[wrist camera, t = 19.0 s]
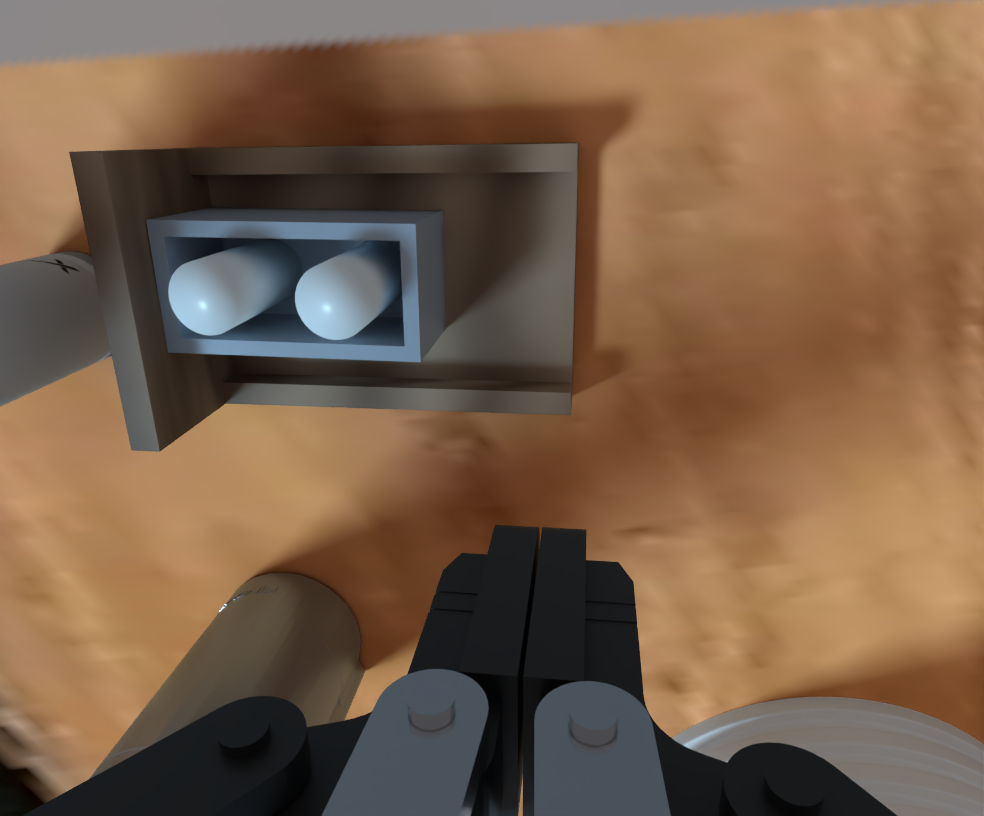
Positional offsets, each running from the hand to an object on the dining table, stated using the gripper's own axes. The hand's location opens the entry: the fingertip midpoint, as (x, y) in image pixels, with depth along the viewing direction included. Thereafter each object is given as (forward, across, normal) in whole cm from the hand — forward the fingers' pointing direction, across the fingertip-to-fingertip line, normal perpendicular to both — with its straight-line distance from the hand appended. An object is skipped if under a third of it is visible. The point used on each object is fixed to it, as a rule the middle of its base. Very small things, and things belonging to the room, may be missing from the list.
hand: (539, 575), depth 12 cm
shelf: (+27, +10, 0) cm, 29 cm away
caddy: (+26, +13, 0) cm, 29 cm away
